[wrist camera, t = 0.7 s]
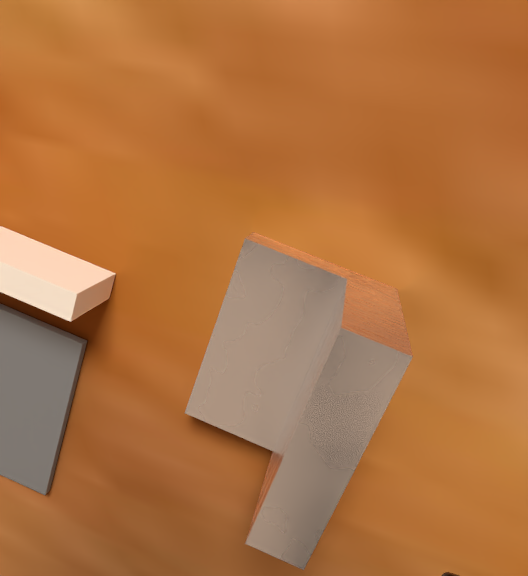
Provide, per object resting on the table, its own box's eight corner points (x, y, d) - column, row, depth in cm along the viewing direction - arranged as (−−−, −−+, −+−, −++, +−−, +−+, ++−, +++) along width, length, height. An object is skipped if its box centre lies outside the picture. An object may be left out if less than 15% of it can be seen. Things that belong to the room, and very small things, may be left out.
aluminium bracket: (320, 449, 22) (303, 570, 15) (196, 395, 22) (131, 492, 16) (396, 288, 19) (412, 356, 13) (253, 231, 19) (203, 271, 13)
